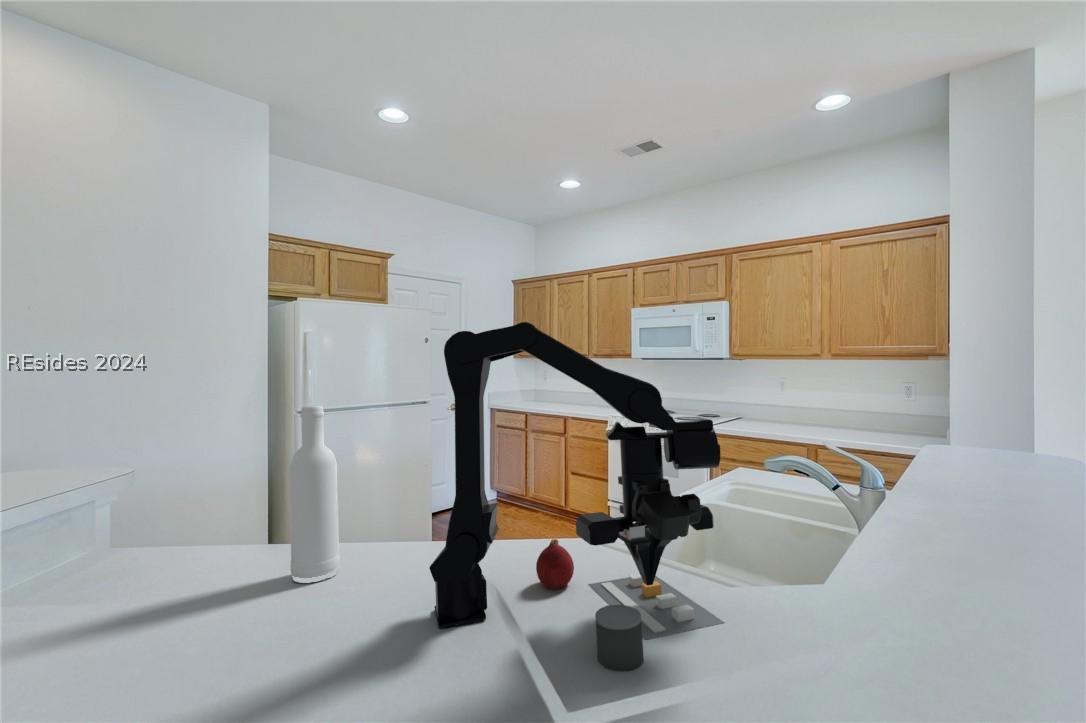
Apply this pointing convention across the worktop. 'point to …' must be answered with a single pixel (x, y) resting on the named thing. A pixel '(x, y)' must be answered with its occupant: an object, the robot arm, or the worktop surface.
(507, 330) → the robot arm
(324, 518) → the bottle
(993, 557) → the worktop surface
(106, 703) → the worktop surface
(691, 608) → the panel
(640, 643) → the canister
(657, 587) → the block
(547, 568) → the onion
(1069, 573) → the worktop surface
